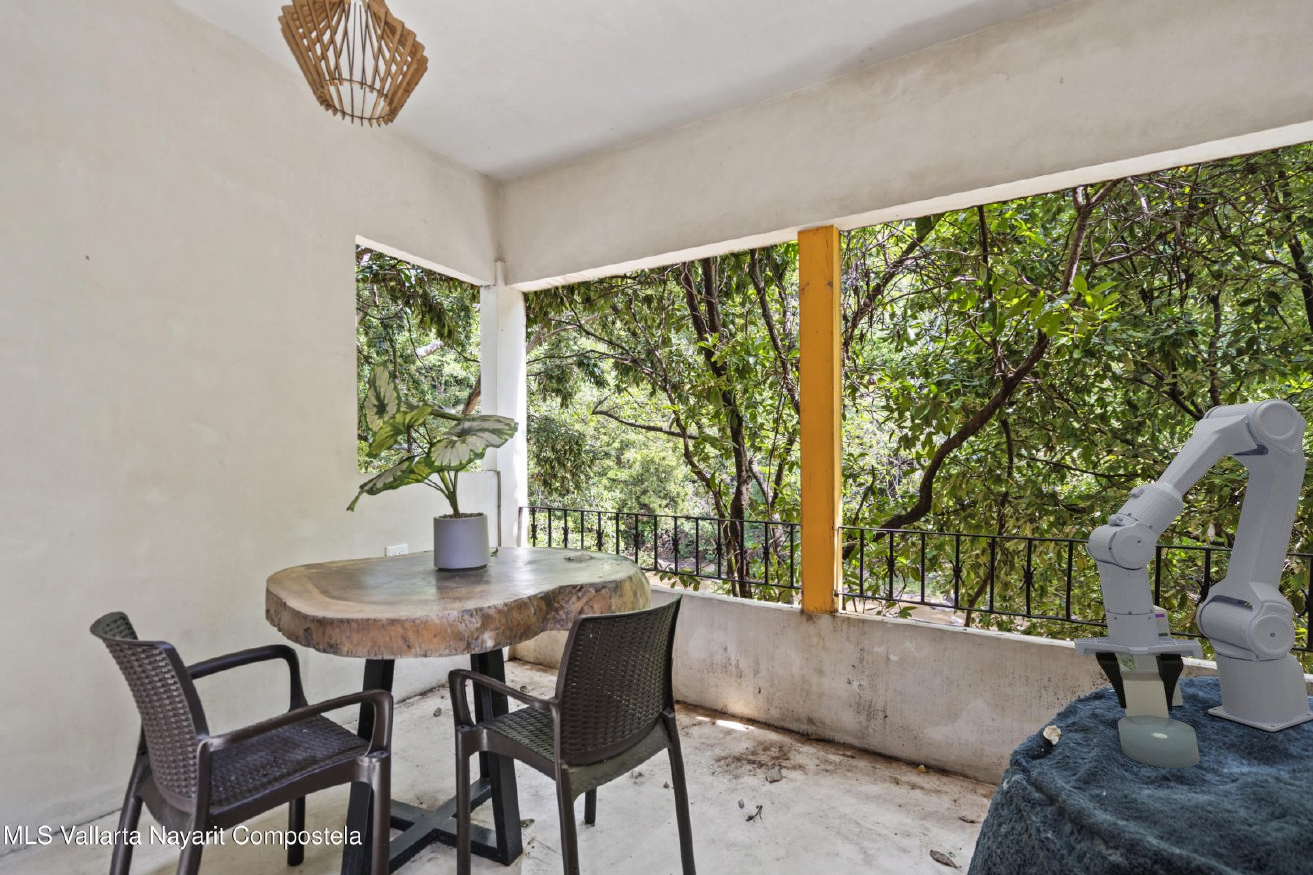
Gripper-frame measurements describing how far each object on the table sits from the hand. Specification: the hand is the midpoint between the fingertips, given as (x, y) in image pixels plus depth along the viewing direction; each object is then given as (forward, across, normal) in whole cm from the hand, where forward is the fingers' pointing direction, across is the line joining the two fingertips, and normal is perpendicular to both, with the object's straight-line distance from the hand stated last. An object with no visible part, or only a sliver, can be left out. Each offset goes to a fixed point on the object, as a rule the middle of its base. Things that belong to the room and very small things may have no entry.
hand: (1145, 707), depth 91 cm
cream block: (+2, 0, 0) cm, 2 cm away
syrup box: (+3, +2, +11) cm, 11 cm away
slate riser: (+3, 0, -8) cm, 9 cm away
